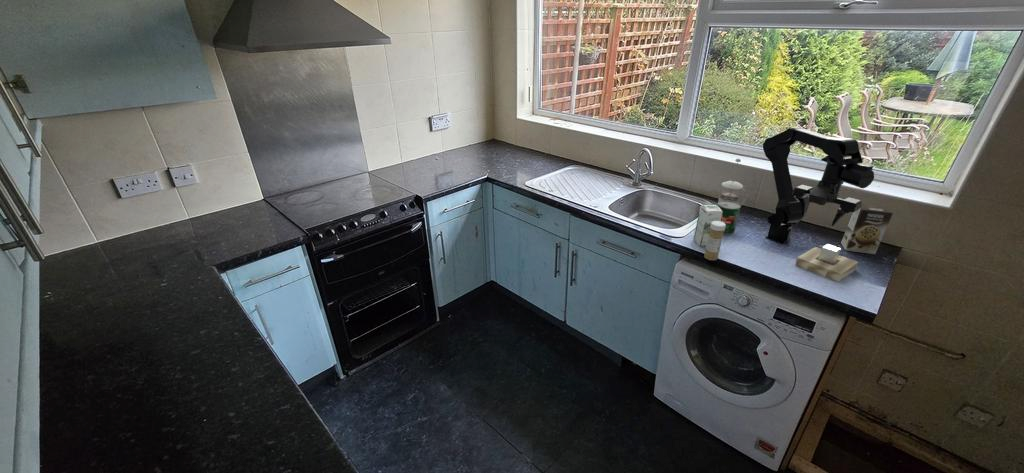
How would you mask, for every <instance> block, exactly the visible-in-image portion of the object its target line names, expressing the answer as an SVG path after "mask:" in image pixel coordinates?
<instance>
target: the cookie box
mask: <svg viewBox="0 0 1024 473" xmlns="http://www.w3.org/2000/svg"><path fill="white" fill-rule="evenodd" d="M892 217H893V212H892V211H891V210H890V209H889V208H888V207H886V206H882V205H871V204H863V203H862V205H861V208H860V209H859V210H857V211H855V212H852V213H851V217H850V219H849V222H848V224H847V227H846V229H845V232H844V234H843V237H842V240H841V241H840V243H841V245H842V247H843V249H844V250H845V251H847V252H848V251H849V252H856V253H863V254H871V255H876V254H877V251H878V249H879V247H880V245H881V242H882V240H883V237H884V235H885V232H886V230H887V228H888V225H889V223H890V222H891V221H890V220H891V219H892Z"/></svg>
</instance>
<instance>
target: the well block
mask: <svg viewBox="0 0 1024 473" xmlns="http://www.w3.org/2000/svg"><path fill="white" fill-rule="evenodd" d="M821 249H822V248H820V247H817V246H815V247H812V248H811V249H810V250H807V251H806V252H805V253H802V254H801V255H799V256H797V258H796V261H795V264H794V266H796V267H799V268H801V269H804V270H806V271H809V272H811V273H814V274H816V275H819V276H821V277H824V278H826V279H829V280H831V281H835V282H837V283H839V282H840V281H842V280H843V279H845V278H846V277H847V276H849V275H850V274H851V273H853V272H854V271H856V269H857V266H858V263H859V261H856V260H854V259H851V258H848V257H846V256H842V255H840V254H839V256H838V259H837V261H836V264H835V265H834V266H833V265H830V264H827V263H825V262H822V261H819V260H818V258H819V255H820V252H821Z"/></svg>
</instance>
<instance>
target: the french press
mask: <svg viewBox="0 0 1024 473" xmlns="http://www.w3.org/2000/svg"><path fill="white" fill-rule="evenodd" d="M734 161H735V163H737V164H736V168H735V172H734V176H733V180H727V181H724V182H722V183H721V186H722V187H723V188H725V189H728V190H730V191H721V192H720V195H719V196H718V201H717V206H718V203H719V202H720V201H731V202H735V203H737V204H739V205H740V206H743V205H744V204H746V202H747V200H748V198H749V195H748V191H747V190H745V189H744V188H743V187H744V185H743V184H742V183H740V182H738V181H735V177H736V173H737V168H738V163H741V162H742V161H741V159H740V158H736V159H735V160H734ZM733 190H734V191H735V190H737V191H738V190H739V192H740V193H743V192H744V193H745V197H744V199H743V200H742V201H741V202H740V200H741V199H740V194H739V193H738V192H733Z"/></svg>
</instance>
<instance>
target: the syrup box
mask: <svg viewBox="0 0 1024 473" xmlns="http://www.w3.org/2000/svg"><path fill="white" fill-rule="evenodd" d="M717 205H718V204H717ZM717 205H716V204H706V205H705V204H702V205H700V207H699V211H698V212H699V213H698V215H697V216H698V217H697V222H696V224H695V225H696V226H695V231H694V236H693V240H694V241H695V242H694V243H696V244H697V245H698V246H699V247H706V245H707V241H708V237H709V233H710V226H711V222H713V221H721V217H722V213H723V211H722V210H721V209H720V208H719V207H718V206H717Z"/></svg>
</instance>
